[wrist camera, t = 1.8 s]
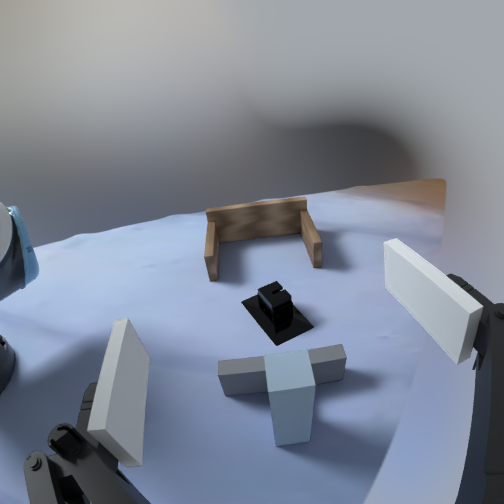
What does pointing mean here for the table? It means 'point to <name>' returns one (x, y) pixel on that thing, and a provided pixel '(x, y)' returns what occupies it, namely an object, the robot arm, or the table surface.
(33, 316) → the table surface
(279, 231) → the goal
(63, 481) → the robot arm
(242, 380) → the block
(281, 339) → the black angular piece
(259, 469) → the table surface
